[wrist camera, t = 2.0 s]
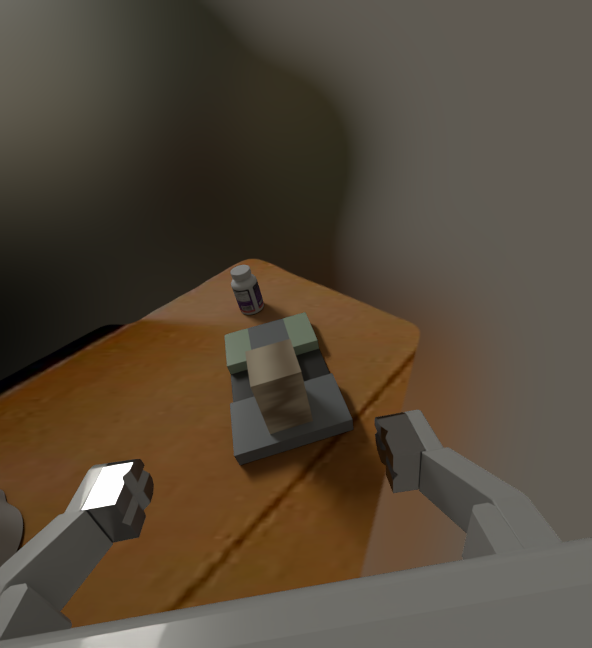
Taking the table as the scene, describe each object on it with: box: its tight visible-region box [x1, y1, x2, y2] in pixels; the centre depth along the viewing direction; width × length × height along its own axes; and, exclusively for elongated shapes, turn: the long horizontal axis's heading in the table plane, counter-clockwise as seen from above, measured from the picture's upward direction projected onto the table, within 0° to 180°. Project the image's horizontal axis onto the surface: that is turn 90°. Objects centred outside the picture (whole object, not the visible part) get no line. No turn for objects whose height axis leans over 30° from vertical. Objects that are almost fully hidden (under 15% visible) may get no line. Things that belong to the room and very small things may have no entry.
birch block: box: [245, 339, 313, 434], centre depth 41 cm, size 6×6×10 cm
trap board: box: [225, 312, 353, 465], centre depth 51 cm, size 16×25×2 cm, turn 13°
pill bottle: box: [231, 265, 264, 315], centre depth 66 cm, size 5×5×10 cm
